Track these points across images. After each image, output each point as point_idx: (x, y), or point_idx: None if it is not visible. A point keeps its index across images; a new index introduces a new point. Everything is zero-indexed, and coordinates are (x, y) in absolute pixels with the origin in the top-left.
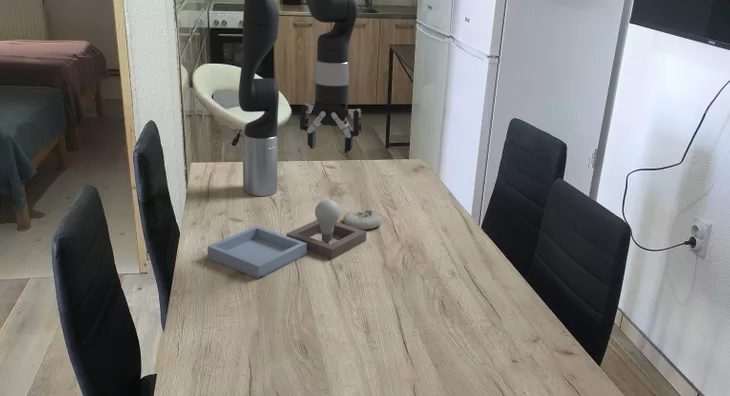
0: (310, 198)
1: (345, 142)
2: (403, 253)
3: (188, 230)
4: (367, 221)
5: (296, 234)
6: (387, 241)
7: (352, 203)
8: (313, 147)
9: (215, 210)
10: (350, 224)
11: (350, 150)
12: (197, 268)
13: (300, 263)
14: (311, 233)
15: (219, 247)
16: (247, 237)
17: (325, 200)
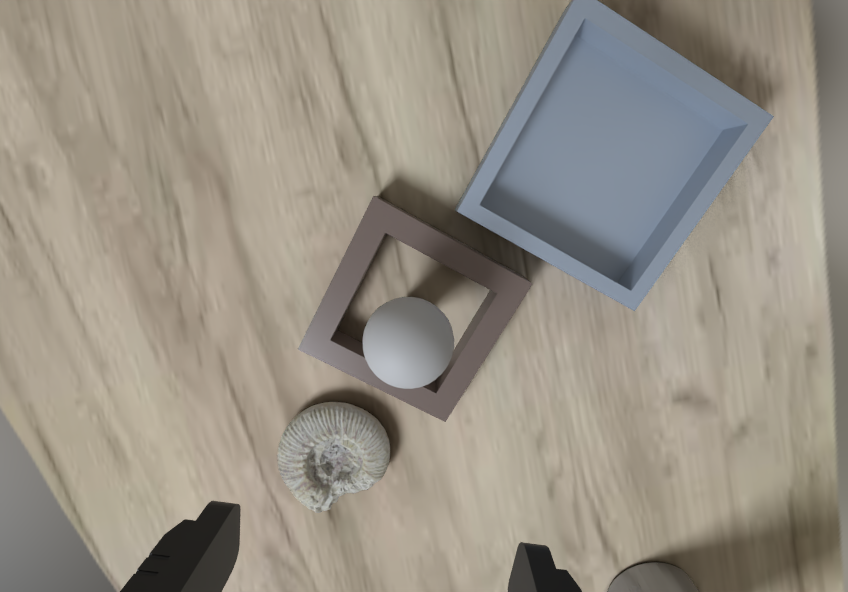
0: (506, 573)
1: (174, 588)
2: (190, 278)
3: (823, 303)
4: (310, 421)
5: (501, 284)
6: (249, 346)
7: (388, 563)
8: (517, 563)
9: (761, 450)
10: (361, 411)
11: (183, 532)
12: (761, 44)
13: (461, 149)
14: (463, 339)
15: (727, 143)
16: (647, 251)
17: (415, 358)
